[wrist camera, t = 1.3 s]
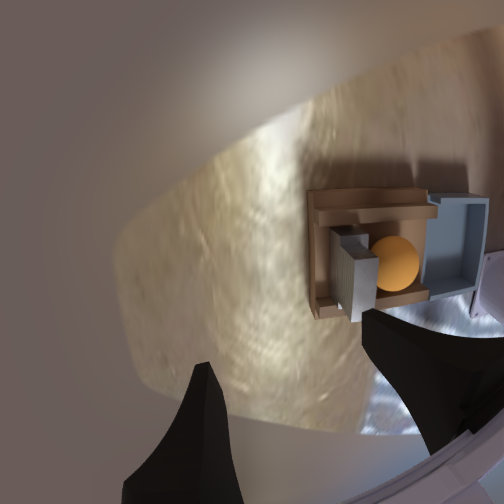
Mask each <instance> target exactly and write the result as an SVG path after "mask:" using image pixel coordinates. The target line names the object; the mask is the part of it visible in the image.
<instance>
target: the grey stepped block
mask: <svg viewBox="0 0 504 504" xmlns="http://www.w3.org/2000/svg"><path fill="white" fill-rule="evenodd" d="M368 240H369V234H368V233H366V232H365V231H363V230H362V229H360V228H359V227H357V226H355V225H351V226H338V227H329V295H330V297H331V298H332V300H333V302H334V303H335V305H336V307H337V309H343V310H344V312H345V313H346V315H347V317H348V318H349V320H350V322H357V321H362V313H361V312H364V311H366V310H369V309H371V308H374V309H375V300H376V290H377V279H378V266H379V257H378V256H377V255H375V254H374V253H373V252H371V251H370V250H369V249H368Z"/></svg>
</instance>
